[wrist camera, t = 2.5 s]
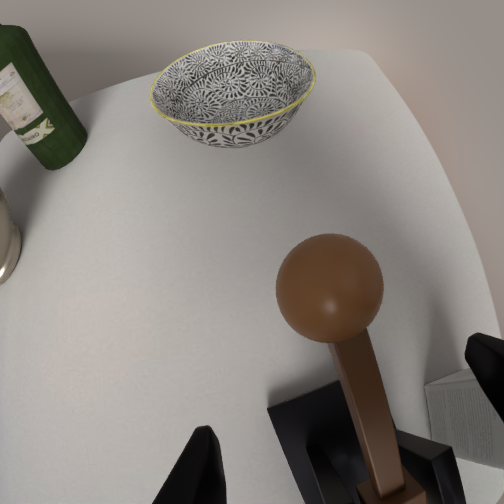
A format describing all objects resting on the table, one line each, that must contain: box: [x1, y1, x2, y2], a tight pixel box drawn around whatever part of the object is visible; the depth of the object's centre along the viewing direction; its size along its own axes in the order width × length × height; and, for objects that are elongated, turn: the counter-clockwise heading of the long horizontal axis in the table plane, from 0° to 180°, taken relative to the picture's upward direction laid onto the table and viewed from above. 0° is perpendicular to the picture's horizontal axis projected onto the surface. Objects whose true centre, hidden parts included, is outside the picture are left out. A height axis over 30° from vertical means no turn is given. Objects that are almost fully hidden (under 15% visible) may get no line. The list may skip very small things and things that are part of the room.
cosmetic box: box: [424, 368, 504, 469], centre depth 12 cm, size 6×4×12 cm
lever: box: [276, 234, 427, 504], centre depth 8 cm, size 13×3×3 cm, turn 20°
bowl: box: [150, 40, 316, 148], centre depth 29 cm, size 16×16×8 cm
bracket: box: [267, 379, 466, 504], centre depth 12 cm, size 12×8×13 cm, turn 20°
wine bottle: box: [0, 24, 87, 170], centre depth 21 cm, size 8×8×30 cm
